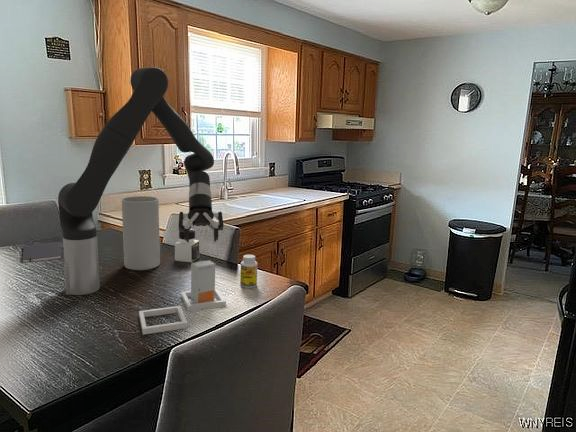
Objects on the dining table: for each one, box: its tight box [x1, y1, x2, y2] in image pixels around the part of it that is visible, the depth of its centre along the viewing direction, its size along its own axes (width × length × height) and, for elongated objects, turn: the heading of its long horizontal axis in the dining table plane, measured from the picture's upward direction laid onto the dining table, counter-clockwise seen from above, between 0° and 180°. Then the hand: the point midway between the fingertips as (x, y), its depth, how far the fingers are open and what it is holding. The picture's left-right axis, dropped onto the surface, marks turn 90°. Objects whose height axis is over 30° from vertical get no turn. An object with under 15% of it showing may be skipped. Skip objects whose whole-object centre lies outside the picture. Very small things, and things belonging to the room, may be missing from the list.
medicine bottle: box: [174, 228, 200, 263], centre depth 162 cm, size 7×7×12 cm
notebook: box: [21, 241, 63, 263], centre depth 164 cm, size 13×2×21 cm
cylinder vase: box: [121, 195, 161, 271], centre depth 151 cm, size 12×12×25 cm
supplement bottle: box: [239, 254, 259, 289], centre depth 138 cm, size 6×6×10 cm
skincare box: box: [190, 259, 216, 304], centre depth 123 cm, size 6×4×12 cm
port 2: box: [180, 287, 227, 312], centre depth 125 cm, size 11×13×2 cm
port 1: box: [138, 305, 188, 336], centre depth 111 cm, size 11×13×2 cm
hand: (201, 240), depth 132 cm, fingers open, 8 cm apart
